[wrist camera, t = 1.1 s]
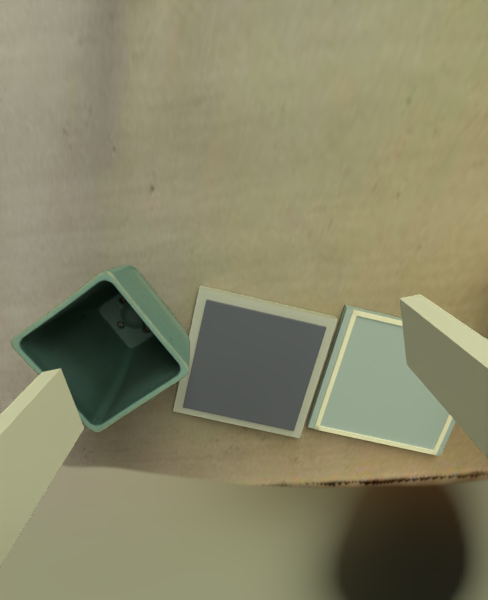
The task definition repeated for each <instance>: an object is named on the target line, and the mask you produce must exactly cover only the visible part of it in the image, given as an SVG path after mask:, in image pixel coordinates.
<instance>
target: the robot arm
mask: <svg viewBox="0 0 488 600" xmlns="http://www.w3.org/2000/svg"><path fill="white" fill-rule="evenodd" d="M400 306H401V315H402V325H403V334H404V344H405V353H406V362H407V365H408V367H409V368H410V369H411V370H412V371H413V372H414V374H415V375H416V376H417V377H418V378H419V379H420V381H421V382H422V383H423V384H424V385H425V386H426V387H427V389H428V390H429V391H430V392H431V393H432V394H433V396H434V397H435V398H436V399H437V400H438V401H439V402H440V404H441V405H442V406H443V407H444V408H445V409H446V411H447V412H448V413H449V414H450V415H451V416H452V418H453V419H454V420H455V421H456V422H457V423H458V424H459V426H460V427H461V428H462V429H463V430H464V431H465V433H466V434H467V435H468V436H469V437H470V438H471V439H472V441H473V442H474V443H475V444H476V445H477V446H478V448H479V449H480V450H481V451H482V452H483V453H484V454H485V456H486V457H487V458H488V340H487V339H486V338H484V337H483V336H481V335H480V334H478V333H477V332H475V331H474V330H472V329H471V328H469V327H468V326H466V325H465V324H464V323H462V322H461V321H459V320H458V319H456V318H455V317H453V316H452V315H450V314H449V313H447V312H446V311H444V310H443V309H441V308H440V307H438V306H437V305H436V304H434V303H433V302H431V301H430V300H428V299H427V298H425V297H424V296H422V295H421V294H419V295H414V296H410V297H405V298H400ZM83 429H84V426H83V424H82V421H81V418H80V416H79V413H78V411H77V408H76V406H75V403H74V401H73V398H72V395H71V393H70V390H69V388H68V385H67V383H66V380H65V378H64V375H63V372H62V370H61V368H60V369H55V370H50V371H45V372H42V373H41V374H40V375H39V376H38V377H37V378H36V379H35V380H34V381H33V382H32V383H31V384H30V385H29V386H28V387H27V388H26V389H25V390H24V391H23V392H22V393H21V394H20V395H19V396H18V397H17V398H16V399H15V400H14V401H13V402H12V403H11V404H10V405H9V406H8V407H7V408H6V409H5V410H4V411H3V412H2V413H1V414H0V566H1V565H2V563H3V561H4V560H5V558H6V557H7V555H8V553H9V552H10V550H11V548H12V546H13V545H14V543H15V542H16V540H17V538H18V537H19V535H20V533H21V532H22V530H23V528H24V526H25V525H26V524H27V522H28V520H29V519H30V517H31V515H32V514H33V512H34V510H35V509H36V507H37V505H38V504H39V502H40V500H41V499H42V497H43V495H44V494H45V492H46V490H47V489H48V487H49V485H50V484H51V482H52V480H53V479H54V477H55V476H56V474H57V472H58V470H59V469H60V467H61V466H62V464H63V462H64V461H65V459H66V457H67V456H68V454H69V452H70V451H71V449H72V447H73V446H74V444H75V443H76V441H77V439H78V438H79V436H80V434H81V433H82V431H83Z"/></svg>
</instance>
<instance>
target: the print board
mask: <svg viewBox="0 0 488 600" xmlns="http://www.w3.org/2000/svg"><path fill="white" fill-rule="evenodd" d="M484 338H485V337H484ZM486 339H487V338H486ZM487 340H488V339H487ZM455 422H456V421H455V420H454V419H453V418H452V416H451V415H450V414H449V413H448V412H447V411H446V409H445V408H444V407H443V406H442V405H441V404H440V402H439V401H438V400H437V399H436V398H435V397H434V396H433V394H432V393H431V392H430V391H429V390H428V389H427V387H426V386H425V385H424V384H423V383H422V382H421V381H420V379H419V378H418V377H417V376H416V375H415V374H414V372H413V371H412V370H411V369H410V368H409V367H408V365H407V362H406V353H405V344H404V334H403V325H402V318H400V317H395V316H391V315H387V314H382V313H378V312H374V311H370V310H365V309H361V308H357V307H352V306H348V305H345V306H344V309H343V312H342V316H341V319H340V322H339V325H338V328H337V331H336V334H335V337H334V340H333V343H332V346H331V350H330V353H329V356H328V359H327V362H326V365H325V368H324V371H323V374H322V377H321V380H320V383H319V387H318V390H317V393H316V396H315V399H314V402H313V405H312V408H311V411H310V414H309V417H308V420H307V425H308V427H309V428H313V429H316V430H320V431H325V432H330V433H334V434H339V435H344V436H348V437H353V438H358V439H362V440H367V441H372V442H376V443H381V444H385V445H390V446H395V447H399V448H404V449H409V450H413V451H418V452H423V453H427V454H432V455H439V456H441V454H442V452H443V449H444V447H445V445H446V443H447V440H448V438H449V436H450V434H451V431H452V429H453V427H454V425H455Z"/></svg>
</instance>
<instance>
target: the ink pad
mask: <svg viewBox="0 0 488 600" xmlns="http://www.w3.org/2000/svg"><path fill="white" fill-rule="evenodd" d="M337 321H338V320H337V318H336V316H332V315H328V314H323V313H319V312H315V311H311V310H306V309H302V308H298V307H293V306H289V305H285V304H280V303H276V302H272V301H267V300H263V299H259V298H254V297H250V296H246V295H242V294H237V293H233V292H229V291H224V290H220V289H216V288H211V287H207V286H203V285H200V287H199V292H198V296H197V301H196V306H195V310H194V315H193V320H192V324H191V329H190V334H189V340H190V363H189V373H188V375H187V376H185V377H184V378H183V379H181V380H180V381H179V385H178V390H177V395H176V399H175V404H174V409H173V411H174V412H178V413H183V414H188V415H192V416H197V417H202V418H206V419H211V420H216V421H220V422H225V423H230V424H235V425H239V426H244V427H249V428H253V429H258V430H263V431H267V432H272V433H277V434H281V435H286V436H291V437H295V438H300V436H301V433H302V429H303V426H304V423H305V420H306V417H307V414H308V411H309V408H310V405H311V402H312V398H313V395H314V392H315V389H316V386H317V383H318V380H319V377H320V374H321V371H322V367H323V364H324V361H325V358H326V355H327V352H328V349H329V346H330V343H331V339H332V336H333V333H334V330H335V327H336V324H337Z"/></svg>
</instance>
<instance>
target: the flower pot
mask: <svg viewBox="0 0 488 600" xmlns="http://www.w3.org/2000/svg"><path fill="white" fill-rule="evenodd" d="M122 297H124V298H125V299H126V302H125V303H122V302H121V300H120V299H121V298H122ZM119 322H123V323H124V326H123V327H120V326H119V325H118V323H119ZM145 326H148V328H149V329H150V330H149V331H145V330H144V327H145ZM11 345H12V347H13V348H14V349H15V351H16V352H17V353H18V354H19V355H20V356H21V357H22V358H23V359H24V360H25V361H26V362H27V363H28V365H30V367H32V368H33V370H34V371H35V372H37V374H38V375H40V374H41V373H42V372H45V371H50V370H55V369H60V368H61V370H62V372H63V375H64V378H65V380H66V383H67V385H68V388H69V390H70V393H71V395H72V398H73V401H74V403H75V406H76V408H77V411H78V413H79V416H80V418H81V421H82V422H83V423H84V424H85V425H86V426H87V427H88V428H89V429H90V430H92V431H93V432H97V433H98V432H101V431H102V430H104V429H106V428H107V427H109V426H110V425H112V424H113V423H115V422H116V421H118V420H119V419H121V418H122V417H124V416H125V415H127V414H128V413H130V412H131V411H133V410H134V409H136V408H137V407H139V406H141V405H142V404H144V403H145V402H147V401H148V400H150V399H151V398H153V397H154V396H156V395H158V394H159V393H161V392H162V391H164V390H165V389H167V388H169V387H170V386H172V385H174V384H175V383H177V382H178V381H180V380H181V379H183V378H184V377H185V376H187V375H188V373H189V363H190V340H189V337H188V334H187V332H186V331H185V329H184V328H183V326H182V325H181V324H180V322H179V321H178V320H177V319H176V317H175V316H174V315H173V314H172V312H171V311H170V310H169V309H168V307H167V306H166V305H165V304H164V302H163V301H162V300H161V299H160V297H159V296H158V295H157V294H156V292H155V291H154V290H153V289H152V287H151V286H150V285H149V284H148V282H147V281H146V280H145V278H144V277H143V276H142V275H141V273H140V272H139V271H138V270H137V269H136V268H134V267H133V266H130V265H124V266H120V267H117V268H113V269H110V270H107V271H104V272H101V273H100V274H98V275H97V276H96V277H94V278H93V279H92V280H91V281H89V282H88V283H87V284H86V285H84V286H83V287H82V288H80V289H79V290H78V291H77V292H75V293H74V294H73V295H71V296H70V297H69V298H68V299H66V300H65V301H63V302H62V303H61V304H59V305H58V306H57V307H55V308H54V309H53V310H51V311H50V312H49V313H47V314H46V315H44V316H43V317H42V318H40V319H39V320H38V321H36V322H35V323H33V324H32V325H31V326H29V327H28V328H26V329H25V330H23V331H22V332H21V333H19V334H17V335H16V336H15V337H14V338H13V340H12V341H11Z"/></svg>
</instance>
